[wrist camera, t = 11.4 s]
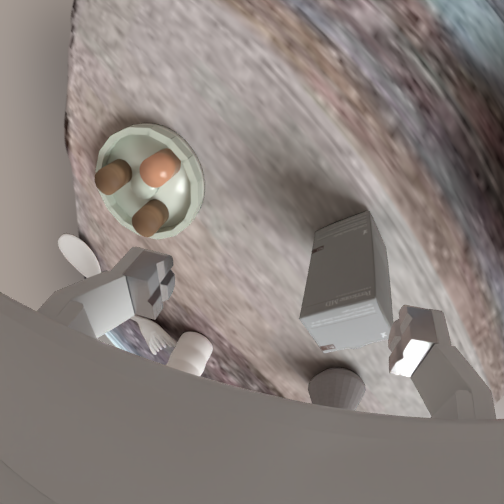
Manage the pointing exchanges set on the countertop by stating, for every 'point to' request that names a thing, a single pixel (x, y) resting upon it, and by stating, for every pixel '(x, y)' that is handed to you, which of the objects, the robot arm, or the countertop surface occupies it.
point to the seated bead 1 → (113, 176)
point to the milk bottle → (191, 353)
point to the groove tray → (167, 190)
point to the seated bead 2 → (150, 218)
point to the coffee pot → (337, 389)
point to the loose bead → (159, 168)
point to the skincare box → (348, 286)
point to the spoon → (89, 267)
